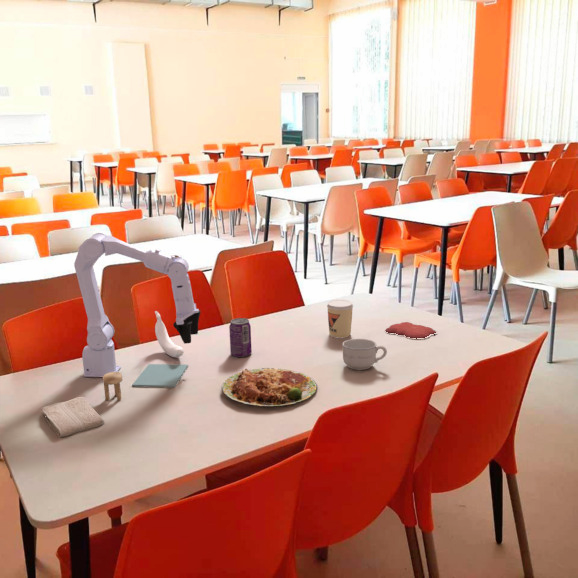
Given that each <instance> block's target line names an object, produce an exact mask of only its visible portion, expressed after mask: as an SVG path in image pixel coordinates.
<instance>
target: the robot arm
mask: <svg viewBox="0 0 578 578" xmlns="http://www.w3.org/2000/svg"><path fill="white" fill-rule="evenodd" d="M115 254H118V255H121V256H125V257H128V258H130V259H134V260H137V261H140V262H142V263H143V265H144V266H145V268H148V269H150V270H152V271H155V272H159V273H161V274H164V275H167V277H168V278H169V279H170V282H171V289H172V294H173V300H174V305H175V311H176V312H175V316H176V318H175V322H173V324H172V325H173V327H174V329H175V330H176V331H177V332H178V333H179V336H180V338H181V341H182V342H183V344H191V343H192V335H198V334H199V321H200V320H199V319H200V316H201V313H202V312H201V310H199V308H197V303H195V301H194V297H193V291H192V285H191V280H190V276H189V273H188V272H189V263H188V261H187V260H186V259H184V258H182V257H181V256H177V257H176V256H175V255H169V254H166V253H163V252H161V250H160V249H158V248H156V249H150V250H144V249H142V248H140V247H137V246H135V245H132V244H130V243H128V242H125V241H123V240H121V239H119V238H117V237H115V236H112V235H106V234H105V233H102V232H96V233H95V234H92V236H90V237H89V238H87V239H85V240H84V241H83V242H82V243H81V244H80V246H79V247H78V251H77V255H76V256H75V257H76V258H75V260H74V262H73V263H74V264H73V265H74V269H75V274H76V278H77V282H78V285H79V290H80V293H81V297H82V300H83V301H82V302H83V306H84V309H85V313H86V316H87V326H86V330H87V337H86V342H87V345H86V346H84V348H83V349H82V353H81V355H82V367H83V377H84V378H85V377H87V378H88V377H91V378H93V377H95V378H103V376H104V375H105V374H107V373H111V372H119V371H120V369H121V368H122V366H121V365H117V363H116V361H117V360H116V354H115V353H116V352H115V342H114V341H113V340H112V338H113V337H114V335H115V327H114V326H113V324H112V323H111V322H110V320H109V317H108V316H107V314H105V310H104V306H103V302H102V297H101V294H100V289H99V285H98V282H97V281H98V280H97V278H96V274H95V270H94V265H95V264H96V263H97V261H98V260H99V258H101V257H102V255H104V256H105V257H107V256H111V255H115Z"/></svg>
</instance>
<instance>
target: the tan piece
mask: <svg viewBox="0 0 578 578" xmlns="http://www.w3.org/2000/svg"><path fill="white" fill-rule="evenodd" d="M102 380H103V390H104V395H105V396H104V398H105V401H109V400H111V399H110V388H109V387H110V386H109V385H113V387H114V396H115V397H116V401H121V400H122V392H121V383H122V381H123V374H122V373H121V372H119V371H117V372H111V373H107V374H105V375H104V376H103V377H102Z"/></svg>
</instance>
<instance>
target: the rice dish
mask: <svg viewBox="0 0 578 578" xmlns="http://www.w3.org/2000/svg"><path fill="white" fill-rule="evenodd" d="M308 387H309V388H308ZM221 390H222V392H223V394H224V395H226V397H227V398H230V400H232V401H235V402H238V403H241V404H245V405H250V406H257V407H275V406H277V407H279V406H286V405H287V406H288V405H293V404H296V403H298V402H304V401H306V400H308V399H310V397H312V396H313V395H314V394H315V393H317V390H318V383H316V381H315V380H314V379H313V378H312V377H310V376H308V375H306V374H305V373H302V372H298V371H294V370H290V369H285V368H284V369H283V368H277V367H276V368H275V367H273V368H270V367H264V368H263V367H262V368H255V369H247V368H244V369H242V371H239V372H237V373H235V374H233V375H231V376H229V377H227V379H224V381H223V383H222V385H221ZM304 392H307V394H305V395H303V393H304ZM265 404H267V405H265ZM270 404H271V405H270Z"/></svg>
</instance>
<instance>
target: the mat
mask: <svg viewBox="0 0 578 578" xmlns="http://www.w3.org/2000/svg"><path fill="white" fill-rule="evenodd" d="M188 368H189V364H178V363H177V364H176V363H175V364H173V363H172V364H169V363H166V364H165V363H164V364H163V363H148V364H147V366H146V367H145V368H144V370H143V371H142V372H141V373H140V374H139V375H138V377H137V379H136V380H134V382H133V383H132V387H133V388H134V387H135V388H137V387H138V388H139V387H140V388H141V387H144V388H145V387H147V388H176V386H177V385H178V383H179V382H178V381H180V380H181V379H182V377H183V376H184V374H183V373H185V372H186V371H185V370H187V369H188ZM181 376H182V377H181ZM176 384H177V385H176Z"/></svg>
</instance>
